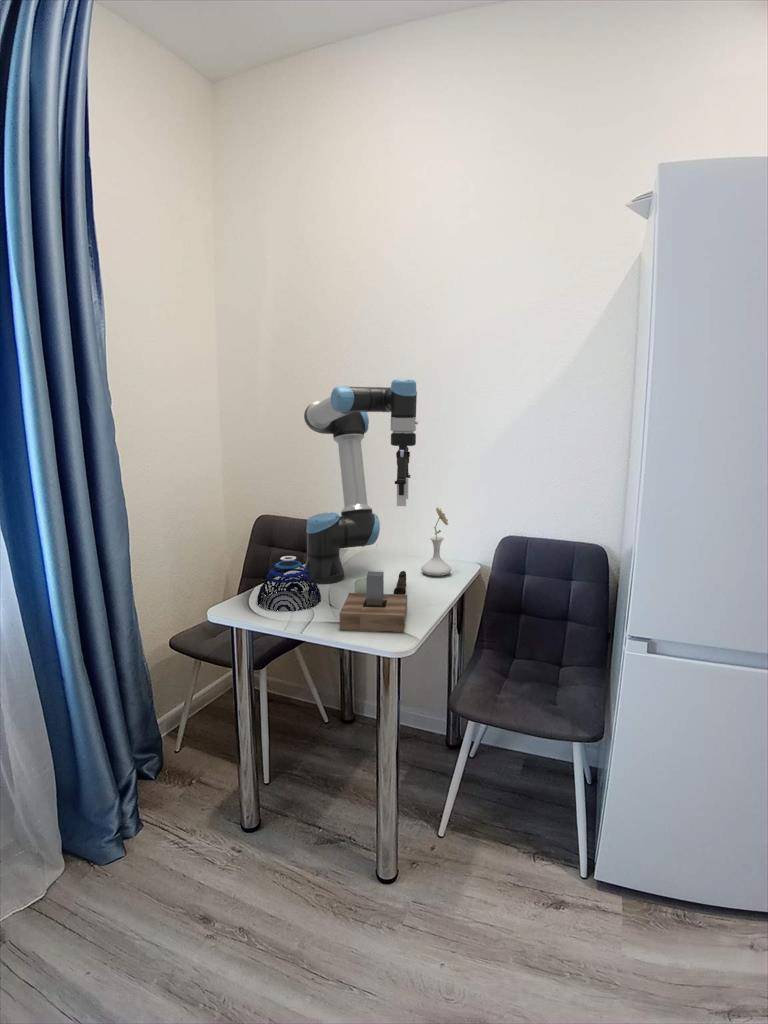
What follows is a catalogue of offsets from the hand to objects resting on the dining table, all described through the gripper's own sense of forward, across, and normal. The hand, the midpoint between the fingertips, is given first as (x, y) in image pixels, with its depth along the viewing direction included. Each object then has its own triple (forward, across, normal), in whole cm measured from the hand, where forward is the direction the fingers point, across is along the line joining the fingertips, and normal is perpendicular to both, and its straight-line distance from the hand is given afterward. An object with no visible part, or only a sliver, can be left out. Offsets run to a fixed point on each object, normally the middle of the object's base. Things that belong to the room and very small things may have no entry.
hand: (402, 502), depth 175 cm
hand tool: (+33, +15, +1) cm, 37 cm away
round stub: (+33, +1, +11) cm, 35 cm away
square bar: (+33, -14, +7) cm, 36 cm away
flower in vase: (+33, +36, -11) cm, 50 cm away
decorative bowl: (+33, 0, +36) cm, 49 cm away
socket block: (+33, -14, +7) cm, 36 cm away
